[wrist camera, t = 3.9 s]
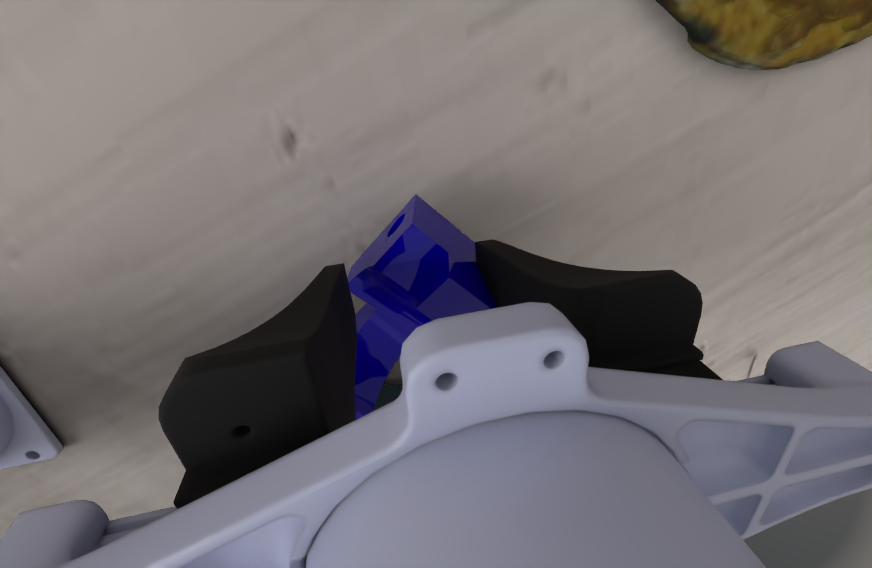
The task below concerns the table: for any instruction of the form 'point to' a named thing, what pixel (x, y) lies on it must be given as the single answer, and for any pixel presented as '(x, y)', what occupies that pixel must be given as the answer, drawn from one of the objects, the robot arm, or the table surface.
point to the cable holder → (409, 290)
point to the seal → (771, 29)
